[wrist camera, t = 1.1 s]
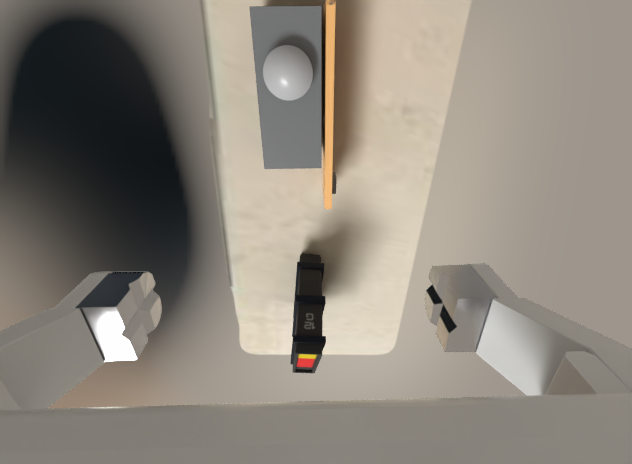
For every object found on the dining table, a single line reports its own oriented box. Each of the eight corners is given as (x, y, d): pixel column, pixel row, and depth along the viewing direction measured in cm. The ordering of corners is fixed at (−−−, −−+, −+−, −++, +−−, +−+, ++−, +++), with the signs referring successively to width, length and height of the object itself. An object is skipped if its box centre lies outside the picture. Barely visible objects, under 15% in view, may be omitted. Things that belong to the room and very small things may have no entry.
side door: (323, 2, 32) (326, -7, 27) (337, 2, 32) (342, -7, 27) (322, 188, 42) (324, 208, 36) (333, 188, 42) (336, 208, 36)
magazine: (325, 242, 44) (325, 353, 36) (317, 283, 55) (315, 376, 47) (298, 240, 44) (292, 352, 36) (295, 281, 55) (289, 375, 46)
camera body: (260, 14, 33) (247, 5, 26) (319, 14, 33) (321, 4, 26) (271, 150, 39) (263, 172, 33) (319, 150, 40) (321, 171, 33)
